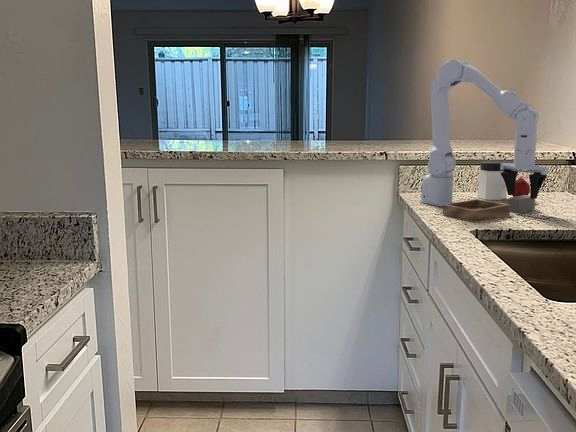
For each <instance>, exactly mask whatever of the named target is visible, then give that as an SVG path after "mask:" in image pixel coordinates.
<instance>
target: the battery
mask: <svg viewBox="0 0 576 432" xmlns="http://www.w3.org/2000/svg"><path fill="white" fill-rule="evenodd" d="M508 204H509V205H510V213H515V214H522V213H526V212H531V210H532V211H536V209H535V208H536V198H535V199H531V198H530V195H522V196H517V197H513V196H512V197H508Z"/></svg>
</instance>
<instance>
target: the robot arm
mask: <svg viewBox="0 0 576 432" xmlns="http://www.w3.org/2000/svg"><path fill="white" fill-rule="evenodd" d="M462 82H463V83H469V84H473V85H474V86H476V87H477V88H478V89H480V90H481V91H482V92H483V93H485V94H486V95H488V96H489V98H492V100H493V103H494V104H493V105H494V108H497V109H498V110H499V111H500V112H502V113H503V114H504V115H506V117H508V118H509V119H510V120H513V124H514V126H515V134H514V151H513V163H510V162H509V163H508V162H507V163H501V167H500V170H504V171H503V172H501V176H502V177H503V179H504V182H505V185H506V188H507V196H512V195H514V192H515V182H516V180H517V176H518V174H519V172H520V173H521V172H522V173H529V174H528V178H529V186H530V193H529V196H530V198H531V199H535V200H536V199H537V198H538V195H539V193H540V190H541V187H542V185H543V183H544V181H546V179H547V177H548V175H549V168H550V167H547V166H541V165H536V164H535V163H536V149H537V130H538V129H537V128H538V127H537V124H538V122H539V120H540V115H539V113H538V111H537V109H536V108H534V107H530V103H528V102H524V101H523V100H521V98H519V97H518V96H516V95H517V92H516V91H514V90H513V91H512V90H511V91H510V90H509V89H504V90H502V89H500V87H498V86H497V85H496V84H495V83H494V82H492V81H491V80H490V79H489V78H488V77H487V76H486V75H485V74H483V72H482V71H480V70H479V69H478V68H476V67H475V66H473V65H471V64H469V63H468V62H467V61H465V60H461V59H459V60H458V59H448V60H446V61H445V62H444V63H442V64H441V65H440V66H439V67H438V68H437V73H436V75H435V77H434V79H433V81H432V84H431V86H430V89H429V90H430V107H431V108H430V109H431V110H430V112H431V131H432V132H431V134H432V137H431V138H432V146H431V149H430V152H429V160H428V162H427V170H428V172H429V174H426V175H425V176H424V177H423V179H422V181H421V195H420V197H421V199H420V200H419V203H421V204H422V203H423V204H427V205H433V206H437V207H444V205H446V204H451V203H457V202H458V201H453V194H454V193H453V192H454V191H453V190H454V173H453V170H455V168H456V164H457V160H456V158H455V156H454V152H453V147H452V145H451V142H450V141H451V140H450V139H451V137H450V112H449V111H450V109H449V107H450V106H449V92H451V90H452V89H453V88H454V87H455V86H456V85H458V84H460V83H462Z"/></svg>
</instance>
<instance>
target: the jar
mask: <svg viewBox="0 0 576 432" xmlns="http://www.w3.org/2000/svg"><path fill="white" fill-rule="evenodd" d="M501 163H508V162H507V161H505V160H493V159H492V160H489V159H487V160H481V161H480V169H478V182H477V183H478V184H477V199H480V200H486V201H501V200H504V199H505V200H506V199H507V196H508V193H507V188H506V185H505V182H504V179H503V177H502V176H501V172H503V171H504V170H500V167H501Z"/></svg>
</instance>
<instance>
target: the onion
mask: <svg viewBox="0 0 576 432" xmlns="http://www.w3.org/2000/svg"><path fill="white" fill-rule="evenodd" d="M530 190H531V186H530V183H529V182H528V181H526V180H525V179H524V177H523V176H519V178H518V179H516V182H515V192H514V195H511V196H512V197H517V196H522V195H528V196H530Z"/></svg>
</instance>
